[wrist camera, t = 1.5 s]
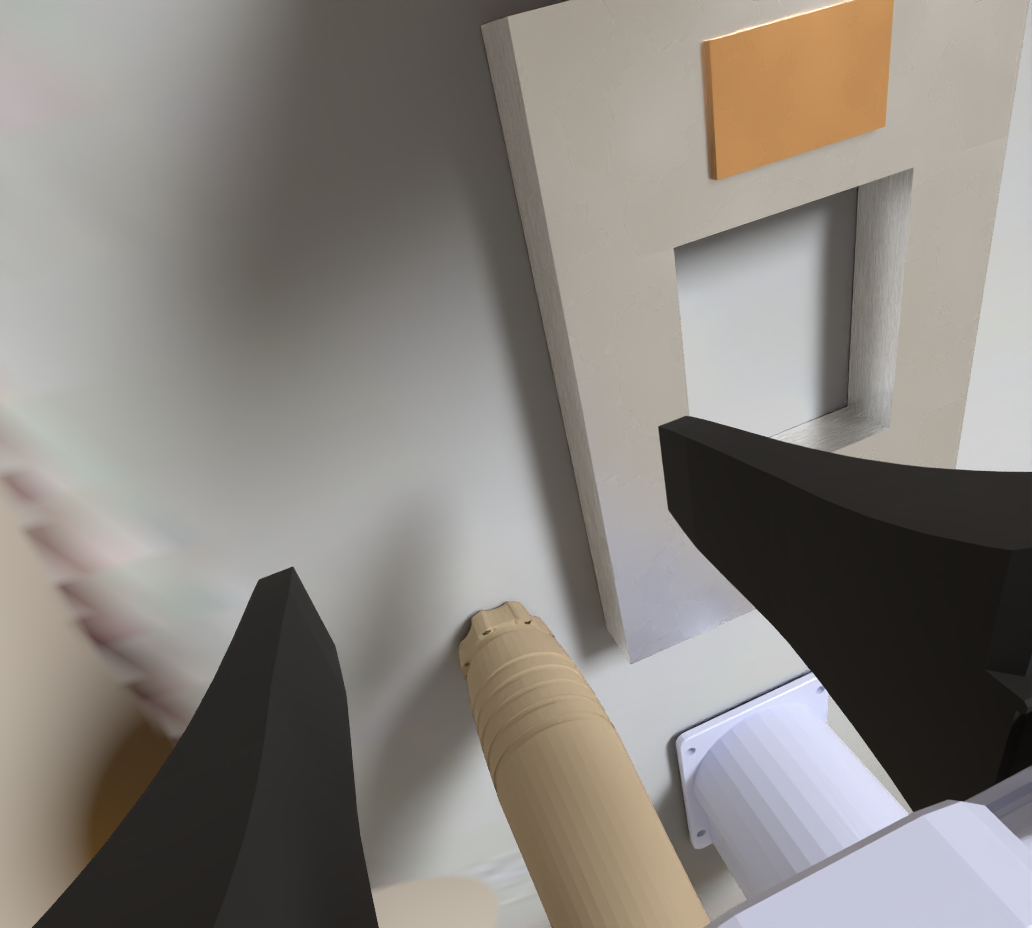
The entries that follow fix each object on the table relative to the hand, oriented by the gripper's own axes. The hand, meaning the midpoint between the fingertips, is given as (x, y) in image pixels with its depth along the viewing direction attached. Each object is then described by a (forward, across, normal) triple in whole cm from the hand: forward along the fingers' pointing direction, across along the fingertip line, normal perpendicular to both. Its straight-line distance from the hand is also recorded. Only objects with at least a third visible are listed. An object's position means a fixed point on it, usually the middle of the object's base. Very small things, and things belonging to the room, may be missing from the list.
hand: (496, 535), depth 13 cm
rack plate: (+8, -11, +2) cm, 14 cm away
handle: (+8, 0, +10) cm, 13 cm away
